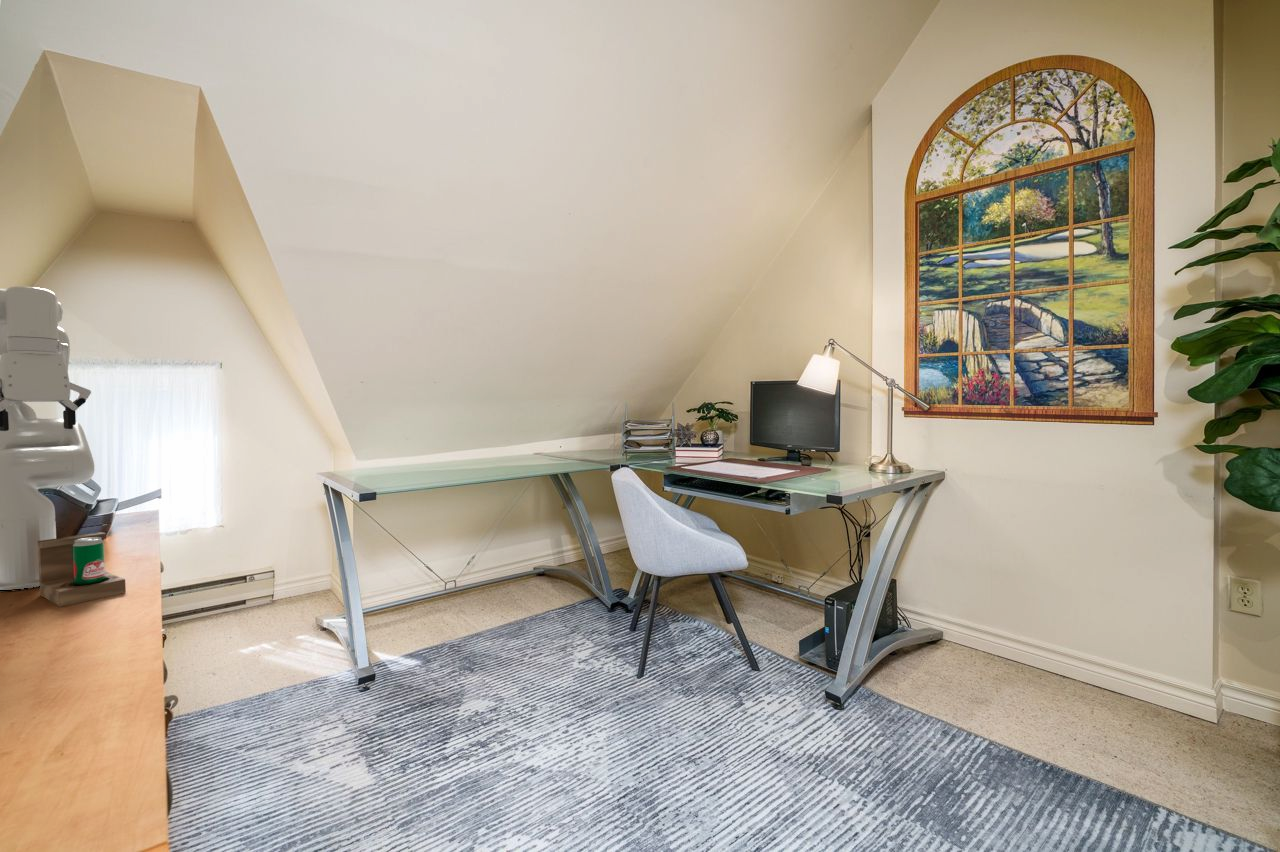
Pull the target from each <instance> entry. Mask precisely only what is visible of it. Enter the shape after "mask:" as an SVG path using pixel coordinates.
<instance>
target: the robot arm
mask: <svg viewBox="0 0 1280 852" xmlns="http://www.w3.org/2000/svg"><path fill="white" fill-rule="evenodd" d="M63 314H64V312H63V307H62V304H61V302H59V301H58V298H57V295H56V294H55V293H54V291H51V290H49V289H47V288H40V287H34V286H33V287H32V286H22V285H21V286H10V287H8V288H0V590H10V589H21V590H25V589H24V588H28V589H33V587H34V588H40V587H39V586H40V581H39V559H38V541H42V540H49V539H56V538H57V528H56V527H57V525H56V523H57V522H56V510H55V509H56V508H55V504H54V503H53V502H52V500H51V499H49V498H48V497H47V496H46V495H44V494H42V493H41V492H40V491H39V489H45V488H52V487H63V486H64V487H65V486H73V485H75V486H76V485H81V484H86V483H87V482H89V481H90V480H91V479H92V478H93V476H94V473H95V461H94V457H93V454H92V452H91V449H90V445H89V442H88V440H87V437H86V434H85V431H84V429H83V427H82V425H81V424H80V423H79V422H78V421H76V420H77V419H76V418H77V416H76V415H77V414H76V411H77V410H78V409H80V407H82V406H83V405H84V404H85V403H86V402H87V400H88V399H89V397H90V395H91V394H92V391H91V390H90V389H89V388H86V387H84V386H81V385H78V384H76V383H73V382H71V381H70V377H69V363H70V362H69V361H70V355H71V353H70V351H71V349H70V347H71V344H70V339H69V335H68V334H67V332H66V331H65V329H64V328H62V327H60V326H59V322H61V321H62V320H63ZM71 391H74V392H76V393H78V394H79V395H78V397H77V398H76V399H75V400H73V401H72V400H71V399H70V397H71ZM26 402H28V403H33V402H34V403H41V402H42V403H45V402H50V403H51V402H53V403H55V402H56V403H57V402H58V403H59V404H60V405H62V407H63V408H65V410H63V412H62V418H37V414H36V412H35V410H34V409H33V408H32V407H31V406H29V405H28V404H27V403H26Z"/></svg>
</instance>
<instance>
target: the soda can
mask: <svg viewBox="0 0 1280 852" xmlns="http://www.w3.org/2000/svg"><path fill="white" fill-rule="evenodd" d="M103 541H104V540H103ZM103 541H102V540H101V537H88V538H81V539H77V540H75V541H74V542H75V543H74V544H73V545H72V562H73V586H86V585H92V584H97V583H102V582H105V572H106V570H105V569H106V568H105V565H106V564H105V541H104V542H103Z"/></svg>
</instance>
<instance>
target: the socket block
mask: <svg viewBox="0 0 1280 852" xmlns="http://www.w3.org/2000/svg"><path fill="white" fill-rule="evenodd" d="M88 537H101V540H102V541H103V542H104V543H105V541H104V539H105V540H106V539H107V537H106V533H105V532H102V531H99V532H91V533H83V534H77V535H71V536H63V537H58V538H57V537H56V539H49V540H42V541H38V559H39V581H40V587H39V596H40V595H41V596H40V597H42V598H43V597H44V599H45V598H46V600H47V599H48V602H49V601H50V602H51V603H53V604H55V605H56V606H59V607H60V608H63V607H67V606H71V605H74V604H75V605H76V604H80V603H85V602H89V601H93V600H98V599H102V598H107V597H111V596H116V595H122V594H125V592H126V590H127V589H126V579H125V578H123V577H120V576H118V575H115V574H113V573H110V572H107V571H105V582H102V583H97V584H92V585H86V586H73V562H72V545H73V544H74V543H75V542H74V541H75V540H77V539H81V538H88ZM121 593H122V594H121ZM126 593H127V592H126Z"/></svg>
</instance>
